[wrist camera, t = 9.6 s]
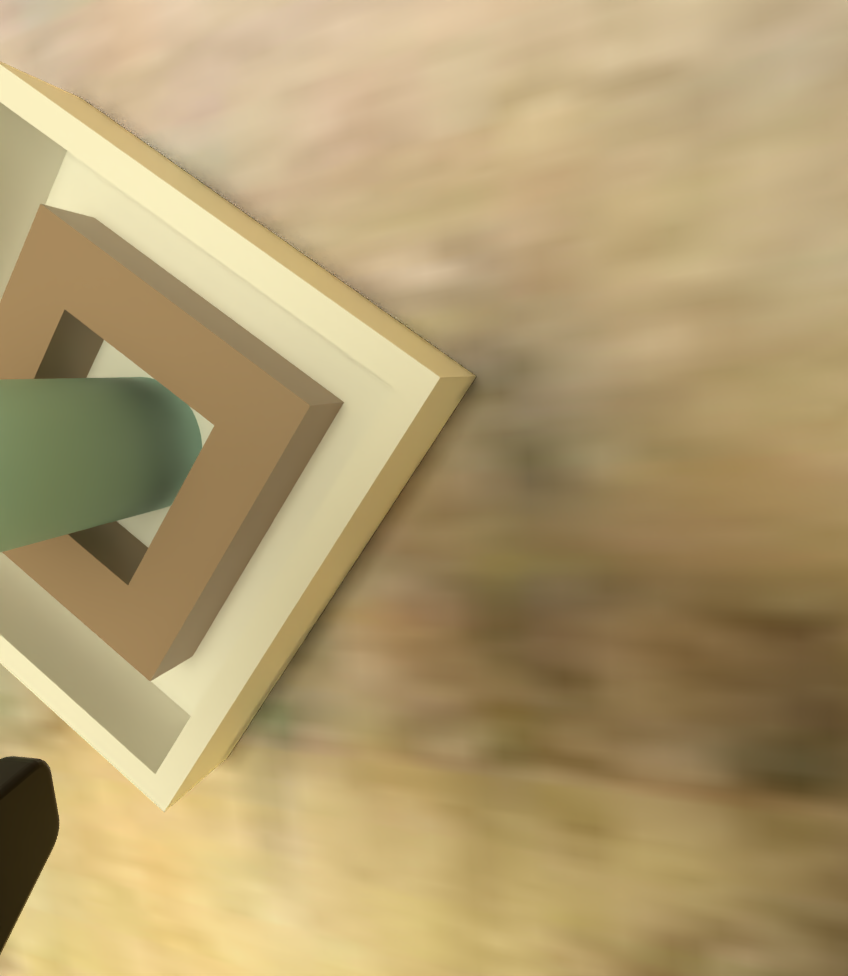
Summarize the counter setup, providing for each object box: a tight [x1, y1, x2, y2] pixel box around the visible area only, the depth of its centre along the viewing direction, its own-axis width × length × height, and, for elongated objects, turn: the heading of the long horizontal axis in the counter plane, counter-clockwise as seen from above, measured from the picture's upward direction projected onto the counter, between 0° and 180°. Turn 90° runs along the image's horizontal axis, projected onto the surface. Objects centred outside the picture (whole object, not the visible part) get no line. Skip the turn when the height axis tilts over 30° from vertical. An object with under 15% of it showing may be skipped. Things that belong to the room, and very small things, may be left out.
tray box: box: [0, 62, 476, 812], centre depth 22 cm, size 15×15×3 cm
